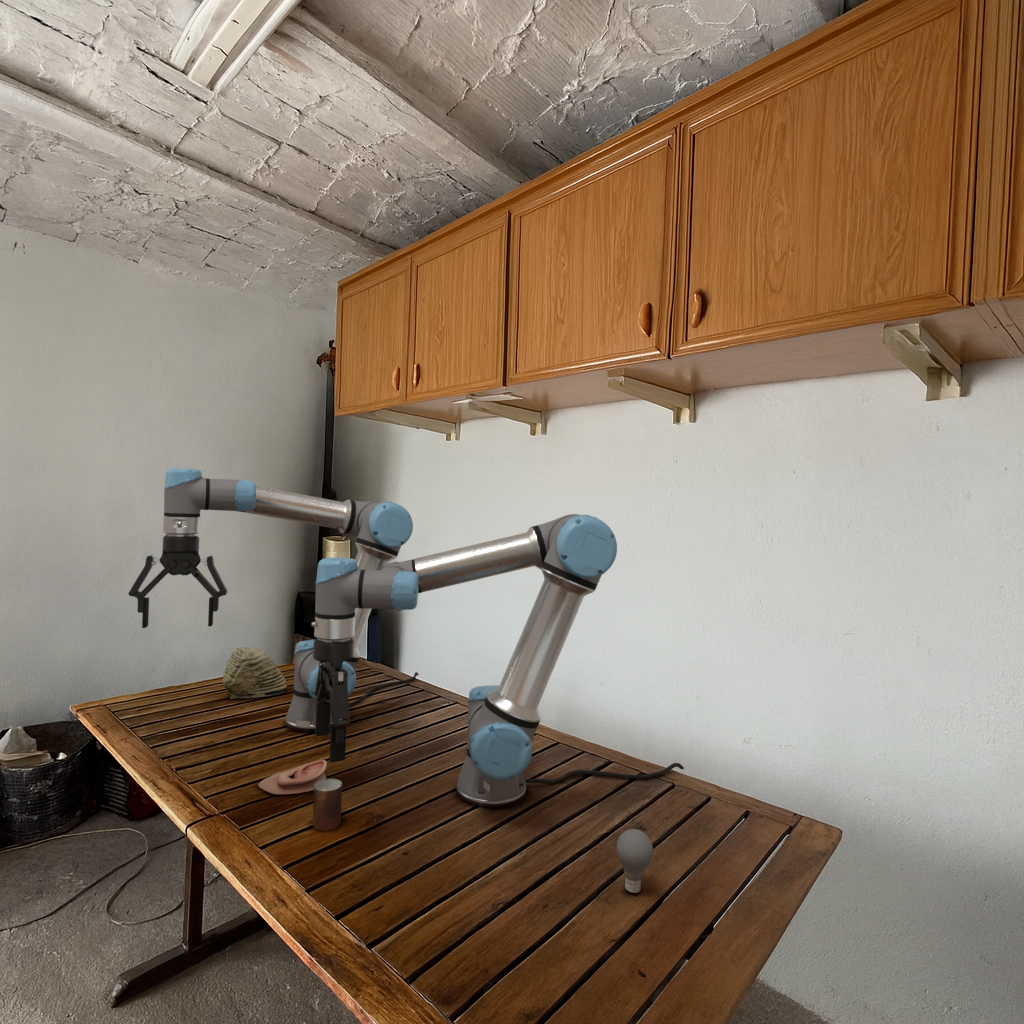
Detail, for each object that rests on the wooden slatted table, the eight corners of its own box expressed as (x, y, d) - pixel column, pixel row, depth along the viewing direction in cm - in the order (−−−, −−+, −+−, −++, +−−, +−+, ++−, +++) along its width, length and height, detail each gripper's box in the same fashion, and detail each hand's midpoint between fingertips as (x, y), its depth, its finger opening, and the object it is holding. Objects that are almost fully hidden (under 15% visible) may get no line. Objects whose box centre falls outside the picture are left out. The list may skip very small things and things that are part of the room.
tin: (311, 831, 120) (313, 791, 120) (313, 818, 125) (314, 779, 125) (340, 829, 121) (342, 789, 121) (340, 815, 126) (342, 777, 126)
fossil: (218, 695, 195) (220, 647, 195) (278, 685, 208) (279, 640, 207) (228, 703, 189) (230, 653, 188) (289, 692, 201) (290, 645, 201)
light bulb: (610, 879, 108) (613, 822, 108) (644, 879, 109) (647, 822, 109) (619, 902, 102) (622, 840, 102) (655, 901, 103) (658, 840, 103)
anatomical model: (250, 772, 134) (280, 751, 146) (249, 790, 135) (280, 768, 146) (307, 780, 132) (333, 759, 143) (306, 799, 132) (333, 776, 143)
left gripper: (115, 534, 139) (112, 630, 140) (238, 537, 148) (235, 627, 148) (123, 532, 146) (120, 624, 147) (240, 535, 155) (237, 621, 155)
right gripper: (302, 626, 132) (298, 727, 132) (327, 654, 110) (322, 776, 110) (339, 624, 135) (335, 723, 135) (370, 651, 113) (365, 769, 113)
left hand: (178, 626), depth 147 cm, fingers open, 13 cm apart
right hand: (329, 747), depth 123 cm, fingers open, 13 cm apart
